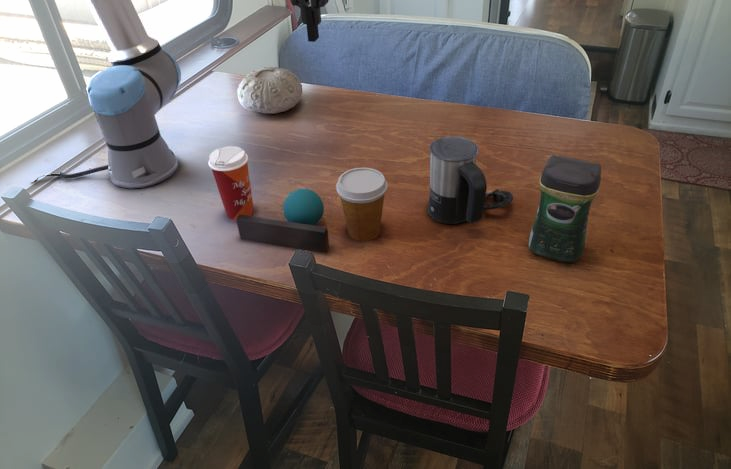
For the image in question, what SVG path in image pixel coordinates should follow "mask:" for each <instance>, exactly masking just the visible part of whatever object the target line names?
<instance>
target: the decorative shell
mask: <svg viewBox="0 0 731 469" xmlns="http://www.w3.org/2000/svg"><path fill="white" fill-rule="evenodd" d="M302 95H303V84H302V83H301V80H300V79H299V77H298V76H297V75H296V73H294V72H292V71H291V70H290V69H285V68H282V67H277V66H275V67H273V66H267V67H266V66H265V67H264V66H263V67H262V68H259V69H256V70H252V71H251V72H248V74H246V75H245V76H244V77H243V78H242V80H241V82H240V83H238V87H237V98H238V99H237V100H238V101H239V104H240V105H241V106H242V107H243V109H245V110H247V111H249V112H253V113H262V114H275V115H276V114H281V113H282V112H283V113H284V112H287V111H288V110H290V109H293V108H294V107H295V106H296V105H297V104H298V103H299V102H300V101H301V98H302Z"/></svg>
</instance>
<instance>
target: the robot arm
mask: <svg viewBox="0 0 731 469" xmlns="http://www.w3.org/2000/svg"><path fill="white" fill-rule="evenodd" d="M85 1H86V3H87V6H88V7H89V9H90V11H91V13H92V15H93V17H94V19H95V21H96V23H97V24H98V26H99V28H100V30H101V32H102V34H103V36H104V37H105V40H106V42H107V43H108V46H109V47H110V50H111V51H110V54H109V57H108V60H109V62H110V63H111V65H112V66H109V67H107V68H106V69H104V70H99V71H98V72H96V73H95V74H94V75H92V76H91V77H90V79H89V80H88V82H87V84H86V93H87V97H88V102H89V105H90V107H91V109H92V110H93V113H94V115H95V118H96V121H97V123H98V126H99V129H100V131H101V133H102V136H103V139H104V141H105V144H106V147H107V160H108V164H105V165H102V166H97V167H93V168H90V169H86V170H83V171H79V172H75V173H66V172H63V171H59V172H60V174H51V175H47V176H46V177H62V178H64V179H75V178H81V177H84V176H87V175H91V174H95V173H99V172H102V171H108V175H109V178H110V180H111V182H112V184H114V185H115V186H117V187H120V188H124V189H142V188H147V187H152V186H154V185H157V184H159V183H162V182H164V181H166V180H167V179H169V178H170V177H172V175H174V174H175V172H176V171H177V170H178V166H179V163H178V160H177V157H176V154H175V153H174V151H173V150H172V149H170V147H169V145H168V144H167V142H166V141H165V139H164V138H163V137H162V135H161V132H160V129H159V125H158V122H157V119H156V114H157V113H158V112H159V111H160V110H161V109H162V108H163V107H164V105H166V103H168V101H170V100H171V99H172V98H173V97H174V96H175V95H176V93H177V91H178V89H179V88H180V85H181V81H182V72H181V68H180V65H179V63H178V61H177V58H175V57H174V56H173V54H172V53H170V52H167V51H166V49H164V48H162V46H161V45H160V42H159V41H158V40H157V39H156V38H153V37H151V36H149V34H148V33H147V31H146V29H145V26H144V24H143V21H142V20H141V18H140V16H139V14H138V12H137V10H136V8H135V6H134V3H133V1H132V0H85ZM289 1H290V3H291V5H292V6H296V7H298V8H299V9H300V15H301V22H302V24H303V25H306V33H307V42H310V43H311V42H312V43H315V42H316V41H317V40H318V39H319V38H320V33H319V25H321V23H322V13H321V8H323V7H325V6H327V5H328V3H329V1H330V0H289Z"/></svg>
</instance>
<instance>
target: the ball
mask: <svg viewBox="0 0 731 469" xmlns="http://www.w3.org/2000/svg"><path fill="white" fill-rule="evenodd" d="M324 206H325V205H324V203H323V199H322V197H321V196H320V195H319V194H318V193H317V192H315V191H314V190H312V189H309V188H297V189H295V190H293V191H291V192H290V193H289V194H288V195H287V196H286V197H285V199H284V201H283V206H282V211H283V216H284V218H285V221H287V222H294V223H301V224H308V225H314V226H318V224H319V223H320V222H321V220H322V218H323V217H324V213H325V207H324Z"/></svg>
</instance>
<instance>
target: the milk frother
mask: <svg viewBox="0 0 731 469" xmlns="http://www.w3.org/2000/svg"><path fill="white" fill-rule="evenodd" d="M428 147H429V152H430V158H429V159H430V161H429V162H430V163H429V164H430V165H429V172H430V173H429V200H428V205H427V214H428V215H429V217H430V218H432V219H433V220H434V221H436V222H439V223H442V224H449V225H454V224H455V225H456V224H460V223H464V222H467V223H469V224H474V223H477V222H479V221H481V220H482V217H483V212H484V211H489V210H497V209H501V208H503V207H506V206H508V205H510V204H511V203H512V202H513V201H514V194H513V193H511V192H510V191H508V190H500V189H499V188H495V189H494V190H489V191H488V192H487V190H488V188H487V187H488V185H487V179H486V175H485V174H484V172H483V170H482V169H481V168H480V167H479V166H478V165H477V155H478V153H479V150H480V148H479V146H478V144H477V143H476V142H475V141H473V140H471V139H469V138H466V137H461V136H443V137H440V138H437V139H435V140H434V141H432V142H431V143H430V144H429V146H428ZM489 198H492V201H493V203H487V202H485V201H486V200H487V199H489Z"/></svg>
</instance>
